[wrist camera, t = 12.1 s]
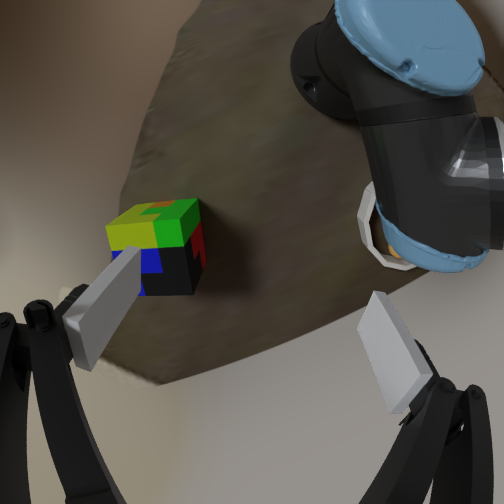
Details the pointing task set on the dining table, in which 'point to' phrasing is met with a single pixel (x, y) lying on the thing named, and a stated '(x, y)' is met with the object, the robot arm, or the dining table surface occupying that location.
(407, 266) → the ring
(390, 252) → the orange egg
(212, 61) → the dining table surface
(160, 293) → the puzzle toy
